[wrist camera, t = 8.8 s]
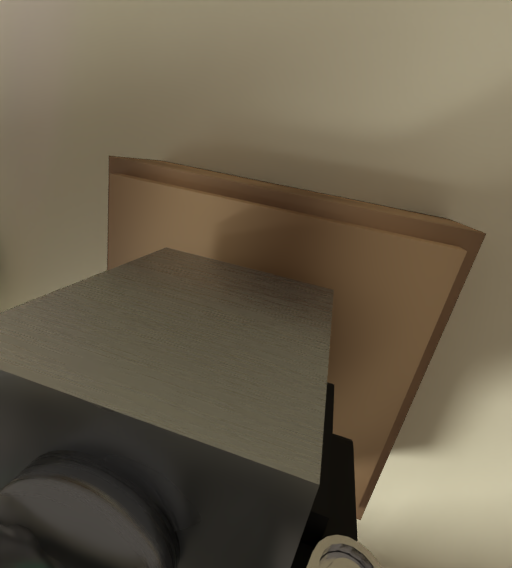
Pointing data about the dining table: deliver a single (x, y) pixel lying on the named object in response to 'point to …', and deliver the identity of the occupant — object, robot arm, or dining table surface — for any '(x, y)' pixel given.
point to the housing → (162, 417)
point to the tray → (315, 276)
